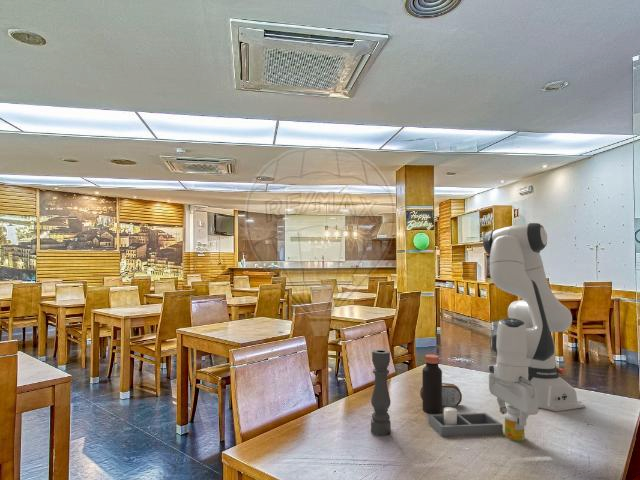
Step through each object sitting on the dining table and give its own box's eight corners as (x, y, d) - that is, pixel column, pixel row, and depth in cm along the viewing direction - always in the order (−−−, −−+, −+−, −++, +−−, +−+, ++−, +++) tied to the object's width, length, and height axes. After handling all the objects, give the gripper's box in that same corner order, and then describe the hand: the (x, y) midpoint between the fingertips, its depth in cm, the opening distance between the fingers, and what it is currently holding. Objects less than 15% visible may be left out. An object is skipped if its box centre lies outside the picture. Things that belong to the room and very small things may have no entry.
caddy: (485, 423, 136) (485, 412, 136) (502, 436, 126) (502, 424, 126) (428, 425, 133) (428, 414, 133) (441, 438, 123) (441, 427, 123)
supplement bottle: (501, 436, 125) (501, 404, 126) (518, 436, 126) (517, 404, 126) (511, 444, 120) (510, 410, 121) (528, 443, 120) (527, 410, 121)
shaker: (453, 425, 131) (453, 407, 131) (459, 431, 127) (459, 411, 127) (441, 426, 130) (441, 407, 131) (447, 431, 126) (447, 412, 127)
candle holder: (392, 429, 130) (392, 350, 131) (388, 437, 124) (389, 354, 125) (373, 426, 132) (373, 348, 133) (368, 434, 126) (369, 352, 127)
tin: (460, 405, 152) (460, 383, 153) (462, 409, 149) (462, 385, 149) (419, 404, 154) (419, 381, 154) (421, 407, 151) (421, 384, 151)
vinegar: (443, 411, 146) (443, 355, 147) (440, 417, 140) (440, 359, 141) (424, 408, 149) (424, 353, 150) (420, 414, 143) (420, 356, 144)
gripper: (544, 382, 114) (544, 432, 113) (503, 364, 135) (503, 407, 134) (523, 382, 114) (523, 433, 113) (485, 364, 134) (485, 407, 133)
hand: (512, 419), depth 123 cm, fingers open, 8 cm apart
